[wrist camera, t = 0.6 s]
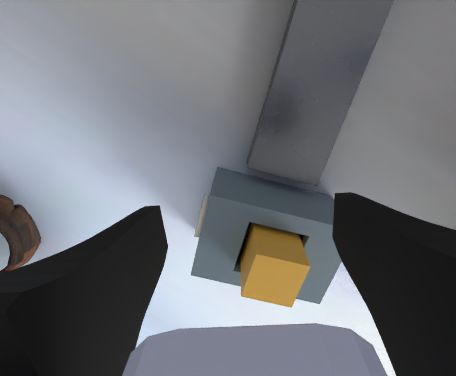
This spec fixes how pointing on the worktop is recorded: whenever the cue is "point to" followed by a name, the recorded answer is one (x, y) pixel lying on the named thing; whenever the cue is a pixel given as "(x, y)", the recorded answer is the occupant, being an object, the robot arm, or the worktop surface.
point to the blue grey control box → (268, 216)
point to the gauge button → (273, 265)
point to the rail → (314, 84)
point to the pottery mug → (18, 233)
